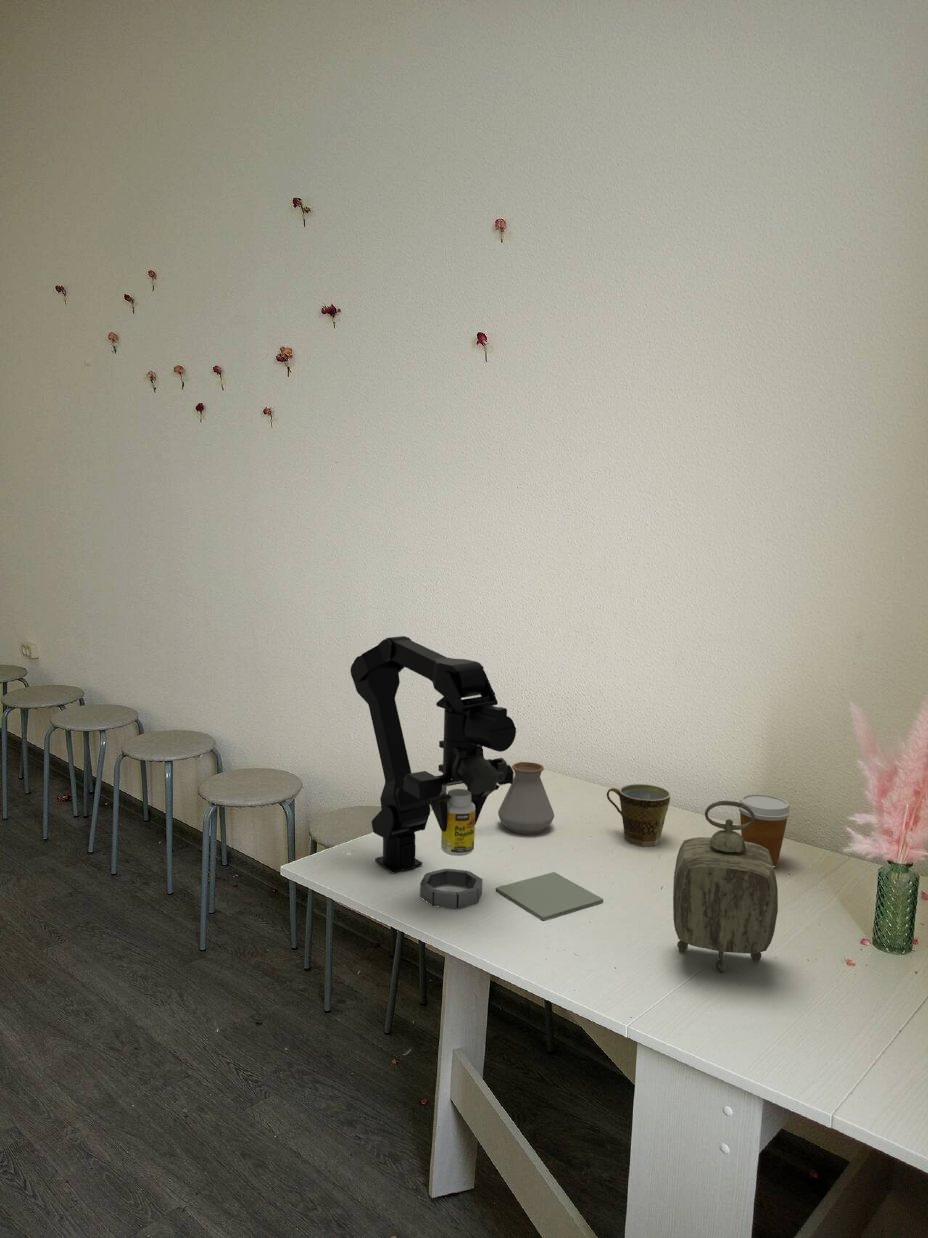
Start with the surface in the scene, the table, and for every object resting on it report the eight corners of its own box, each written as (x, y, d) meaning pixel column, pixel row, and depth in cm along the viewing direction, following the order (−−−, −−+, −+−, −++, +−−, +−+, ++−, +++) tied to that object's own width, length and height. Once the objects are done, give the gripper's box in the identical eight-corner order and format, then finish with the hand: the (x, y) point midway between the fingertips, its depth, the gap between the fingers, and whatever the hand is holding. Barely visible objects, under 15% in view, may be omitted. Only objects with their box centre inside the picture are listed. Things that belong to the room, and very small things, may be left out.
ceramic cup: (674, 838, 189) (677, 790, 187) (656, 854, 180) (659, 803, 179) (614, 824, 195) (617, 778, 194) (594, 838, 187) (597, 790, 186)
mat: (495, 891, 162) (495, 887, 162) (553, 875, 169) (554, 872, 169) (543, 920, 151) (543, 917, 151) (603, 902, 158) (603, 899, 158)
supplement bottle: (452, 859, 155) (454, 799, 153) (434, 848, 159) (436, 790, 158) (480, 853, 158) (482, 794, 156) (462, 842, 162) (464, 785, 161)
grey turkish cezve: (537, 815, 200) (540, 746, 198) (563, 834, 189) (567, 761, 187) (444, 826, 192) (446, 755, 189) (466, 846, 181) (468, 771, 179)
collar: (410, 890, 161) (411, 877, 161) (459, 878, 166) (459, 865, 166) (442, 913, 153) (442, 899, 152) (492, 899, 158) (492, 885, 158)
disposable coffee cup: (731, 867, 175) (735, 805, 173) (736, 849, 184) (741, 790, 182) (784, 876, 171) (789, 813, 170) (788, 858, 180) (792, 797, 178)
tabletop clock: (767, 957, 141) (780, 797, 138) (773, 987, 133) (786, 818, 129) (669, 944, 145) (679, 787, 141) (668, 973, 136) (679, 807, 132)
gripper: (439, 757, 144) (436, 854, 146) (535, 742, 154) (531, 833, 156) (402, 740, 153) (400, 832, 155) (495, 726, 163) (492, 812, 166)
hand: (458, 827), depth 158 cm, fingers closed on supplement bottle, 6 cm apart
